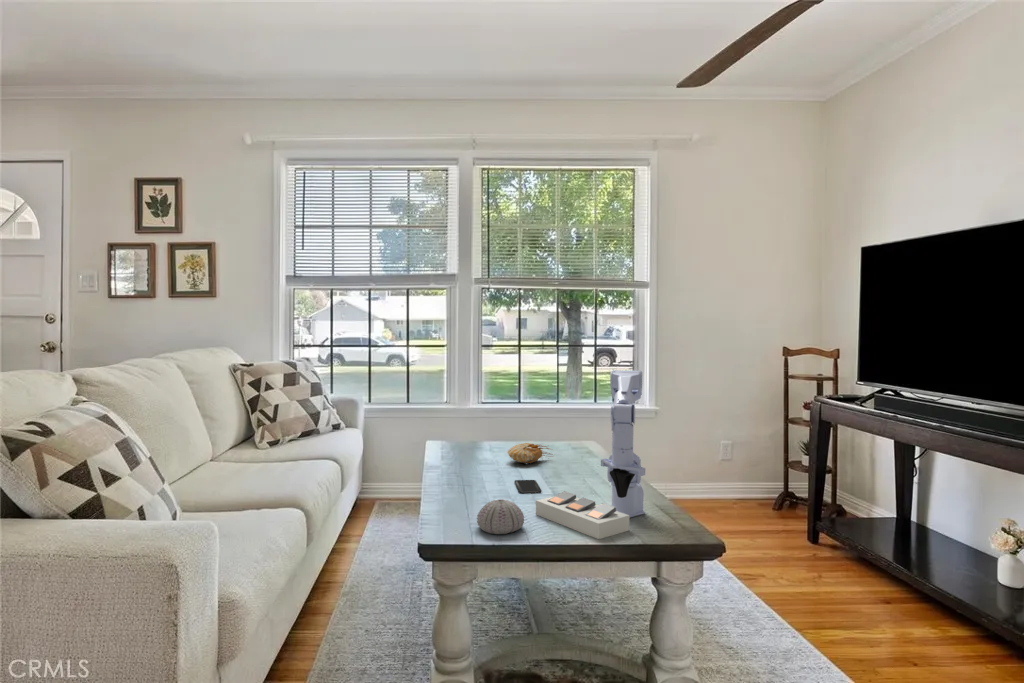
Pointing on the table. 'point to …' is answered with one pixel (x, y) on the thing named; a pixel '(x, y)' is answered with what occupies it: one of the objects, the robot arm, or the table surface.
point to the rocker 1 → (562, 498)
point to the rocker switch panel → (583, 519)
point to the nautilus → (526, 452)
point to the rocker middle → (581, 505)
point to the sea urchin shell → (500, 517)
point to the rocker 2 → (601, 511)
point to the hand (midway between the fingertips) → (621, 496)
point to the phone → (527, 486)
